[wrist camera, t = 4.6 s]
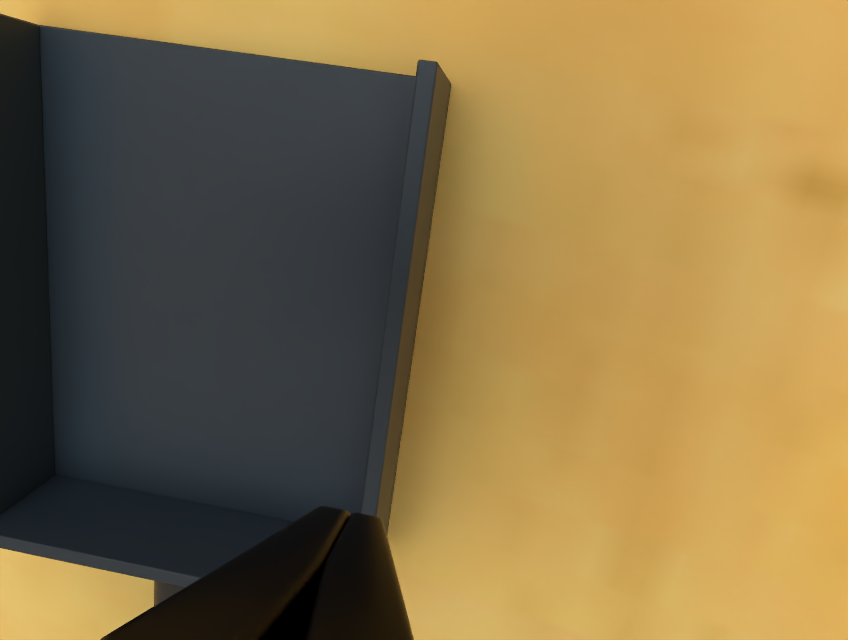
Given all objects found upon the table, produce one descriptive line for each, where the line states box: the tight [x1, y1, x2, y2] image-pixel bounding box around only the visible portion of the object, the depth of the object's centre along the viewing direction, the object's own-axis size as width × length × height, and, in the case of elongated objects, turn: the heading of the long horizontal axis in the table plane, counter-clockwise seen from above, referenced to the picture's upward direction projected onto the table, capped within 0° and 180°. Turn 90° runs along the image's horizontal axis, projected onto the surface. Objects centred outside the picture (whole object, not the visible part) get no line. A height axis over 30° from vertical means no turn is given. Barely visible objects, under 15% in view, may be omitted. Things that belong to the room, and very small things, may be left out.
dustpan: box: [0, 14, 451, 606], centre depth 16 cm, size 3×20×11 cm
